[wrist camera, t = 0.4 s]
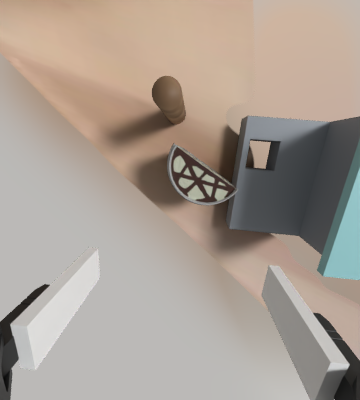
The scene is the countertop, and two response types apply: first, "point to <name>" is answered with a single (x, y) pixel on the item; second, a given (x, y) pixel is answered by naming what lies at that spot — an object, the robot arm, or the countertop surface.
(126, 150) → the countertop surface
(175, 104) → the peg
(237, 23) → the countertop surface
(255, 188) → the socket
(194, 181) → the food container
